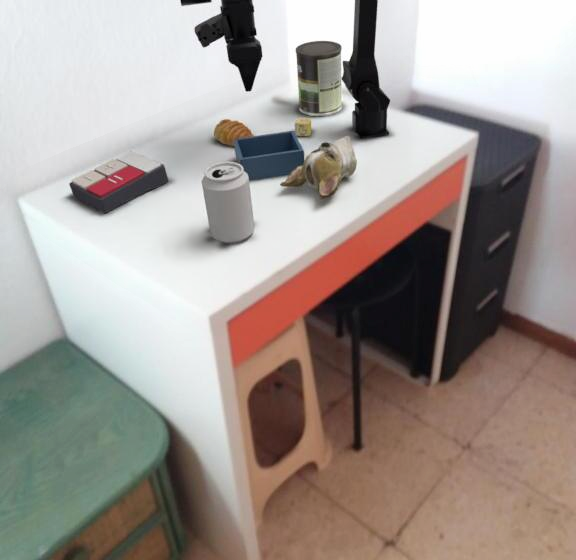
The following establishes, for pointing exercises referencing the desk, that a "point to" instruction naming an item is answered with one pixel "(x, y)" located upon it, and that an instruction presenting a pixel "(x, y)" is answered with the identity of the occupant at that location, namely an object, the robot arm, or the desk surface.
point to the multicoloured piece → (118, 181)
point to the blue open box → (269, 154)
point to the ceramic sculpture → (325, 167)
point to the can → (228, 202)
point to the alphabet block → (303, 127)
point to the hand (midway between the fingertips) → (246, 83)
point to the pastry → (231, 131)
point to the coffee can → (319, 77)
